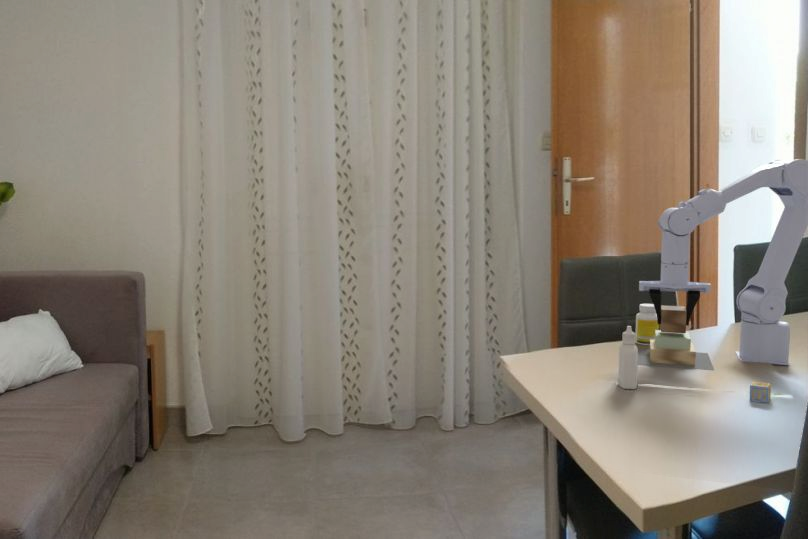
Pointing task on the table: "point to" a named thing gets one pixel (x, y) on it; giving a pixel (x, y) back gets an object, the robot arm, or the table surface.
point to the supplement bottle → (646, 324)
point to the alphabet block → (760, 392)
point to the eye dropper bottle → (628, 360)
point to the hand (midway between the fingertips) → (672, 323)
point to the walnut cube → (673, 319)
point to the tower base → (672, 355)
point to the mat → (700, 363)
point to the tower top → (672, 340)
